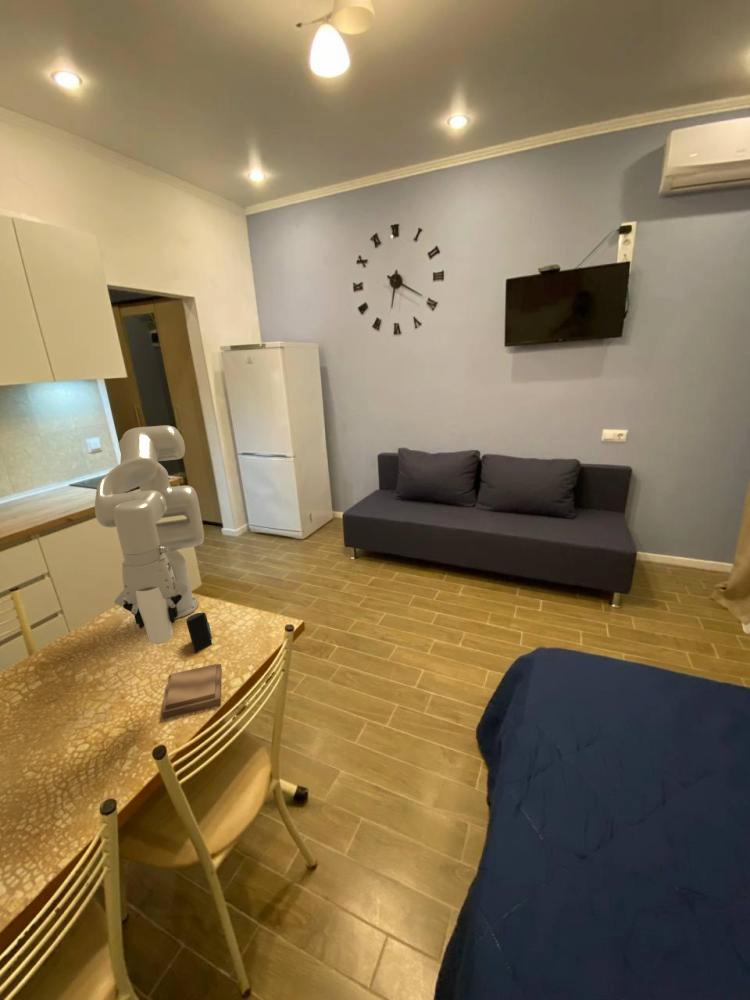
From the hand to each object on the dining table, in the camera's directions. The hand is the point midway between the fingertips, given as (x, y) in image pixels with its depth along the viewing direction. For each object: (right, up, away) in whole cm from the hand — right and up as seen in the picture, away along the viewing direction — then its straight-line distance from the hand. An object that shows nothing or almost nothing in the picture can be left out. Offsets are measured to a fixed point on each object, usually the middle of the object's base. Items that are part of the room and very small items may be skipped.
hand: (158, 621), depth 101 cm
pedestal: (+6, -20, +7) cm, 22 cm away
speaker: (-1, -14, +26) cm, 30 cm away
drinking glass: (0, -5, +2) cm, 5 cm away
